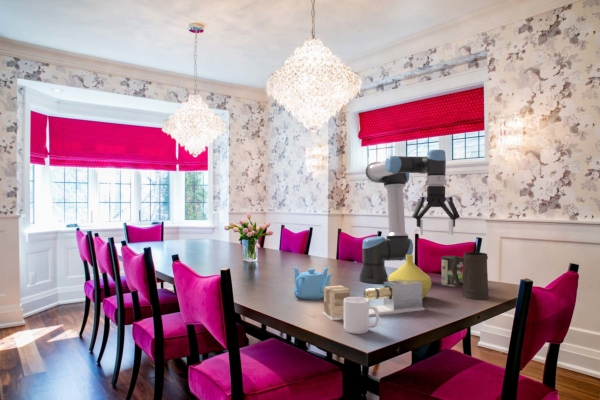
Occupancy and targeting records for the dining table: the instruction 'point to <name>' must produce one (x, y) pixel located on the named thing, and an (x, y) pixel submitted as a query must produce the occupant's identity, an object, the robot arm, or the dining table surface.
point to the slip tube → (378, 293)
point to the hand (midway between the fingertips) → (435, 234)
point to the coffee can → (450, 271)
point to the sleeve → (404, 295)
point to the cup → (358, 315)
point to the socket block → (335, 300)
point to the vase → (412, 275)
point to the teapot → (311, 284)
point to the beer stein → (472, 275)
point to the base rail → (381, 310)
